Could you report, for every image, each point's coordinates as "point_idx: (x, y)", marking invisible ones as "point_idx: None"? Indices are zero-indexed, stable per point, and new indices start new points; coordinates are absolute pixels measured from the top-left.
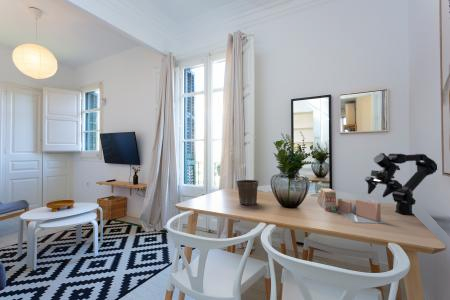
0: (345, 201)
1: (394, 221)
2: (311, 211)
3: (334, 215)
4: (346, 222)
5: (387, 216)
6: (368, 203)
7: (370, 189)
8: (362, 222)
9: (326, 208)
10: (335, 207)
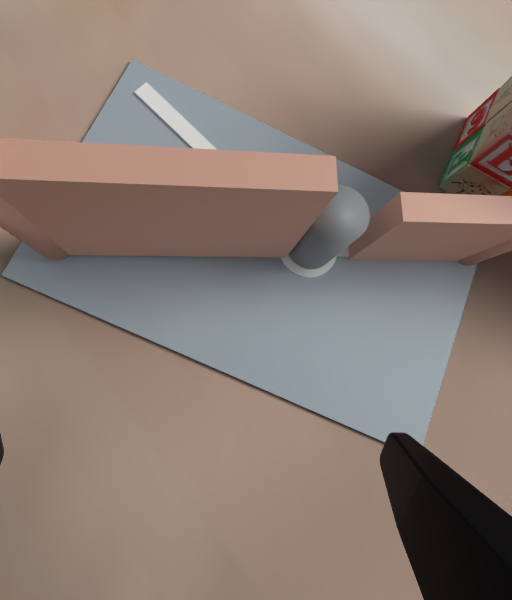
0: (467, 198)
1: (10, 417)
2: (480, 14)
3: (341, 82)
4: (163, 15)
5: (158, 516)
6: (116, 150)
7: (457, 558)
8: (103, 108)
9: (481, 107)
10: (464, 165)
